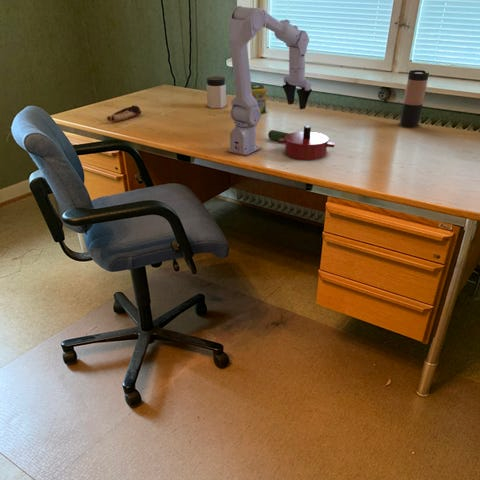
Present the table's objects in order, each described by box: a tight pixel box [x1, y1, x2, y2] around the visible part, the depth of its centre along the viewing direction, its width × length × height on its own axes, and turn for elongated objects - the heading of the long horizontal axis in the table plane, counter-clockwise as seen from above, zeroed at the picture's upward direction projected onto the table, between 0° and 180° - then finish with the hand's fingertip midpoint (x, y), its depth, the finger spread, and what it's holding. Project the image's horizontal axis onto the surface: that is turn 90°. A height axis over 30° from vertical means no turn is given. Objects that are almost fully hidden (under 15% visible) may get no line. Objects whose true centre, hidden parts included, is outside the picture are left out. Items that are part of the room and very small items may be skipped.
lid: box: [285, 125, 330, 146], centre depth 171 cm, size 15×15×5 cm
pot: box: [277, 138, 336, 161], centre depth 174 cm, size 14×20×5 cm
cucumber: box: [267, 129, 291, 142], centre depth 186 cm, size 10×3×3 cm, turn 55°
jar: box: [205, 75, 227, 109], centre depth 226 cm, size 9×8×12 cm
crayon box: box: [251, 83, 267, 114], centre depth 216 cm, size 7×3×12 cm, turn 105°
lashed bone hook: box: [106, 104, 142, 122], centre depth 212 cm, size 9×5×18 cm
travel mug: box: [399, 69, 430, 129], centre depth 197 cm, size 8×8×20 cm
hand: (296, 106), depth 187 cm, fingers open, 7 cm apart
